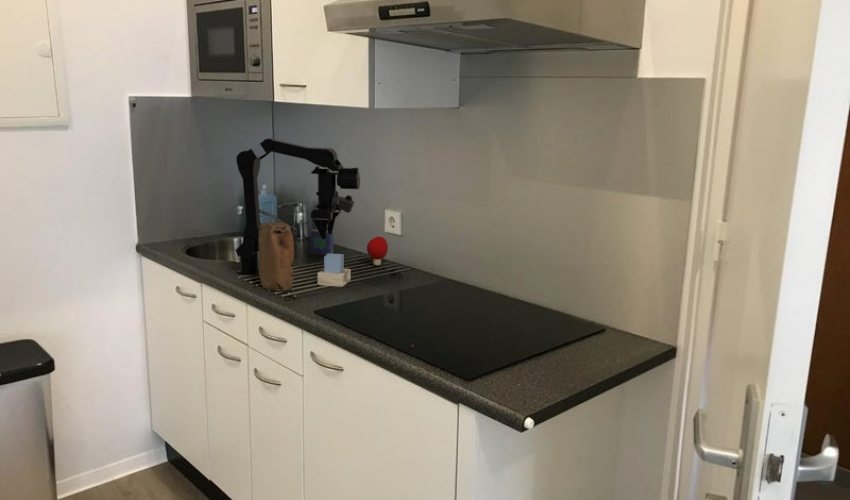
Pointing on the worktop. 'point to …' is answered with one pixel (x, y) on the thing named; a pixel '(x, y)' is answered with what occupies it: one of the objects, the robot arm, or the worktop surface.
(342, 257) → the slate cube
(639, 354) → the worktop surface
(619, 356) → the worktop surface
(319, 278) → the beech base
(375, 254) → the red toy tree
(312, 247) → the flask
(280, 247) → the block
